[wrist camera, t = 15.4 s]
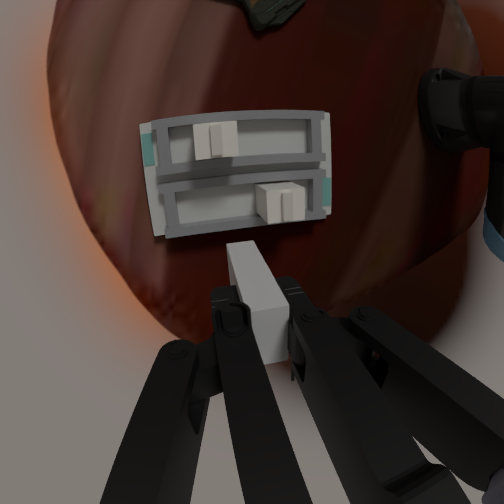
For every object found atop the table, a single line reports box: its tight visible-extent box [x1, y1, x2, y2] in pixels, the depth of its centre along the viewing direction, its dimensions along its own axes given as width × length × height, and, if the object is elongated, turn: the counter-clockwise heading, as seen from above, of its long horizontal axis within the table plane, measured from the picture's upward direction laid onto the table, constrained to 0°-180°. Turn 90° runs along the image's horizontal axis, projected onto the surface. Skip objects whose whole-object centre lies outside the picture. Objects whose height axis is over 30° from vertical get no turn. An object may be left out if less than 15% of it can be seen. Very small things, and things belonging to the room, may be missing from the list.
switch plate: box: [140, 110, 331, 239], centre depth 30 cm, size 22×13×3 cm, turn 94°
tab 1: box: [193, 121, 239, 160], centre depth 26 cm, size 4×3×6 cm
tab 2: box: [255, 181, 305, 224], centre depth 29 cm, size 4×3×6 cm
